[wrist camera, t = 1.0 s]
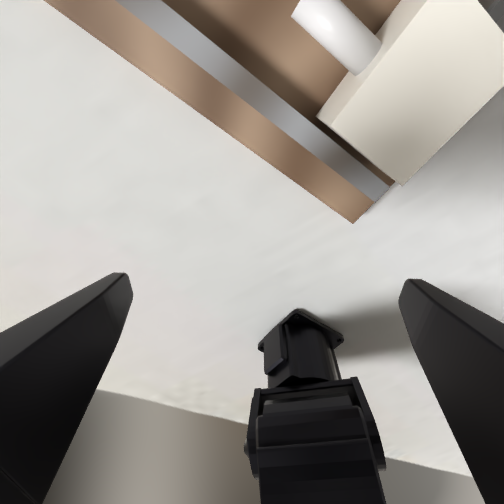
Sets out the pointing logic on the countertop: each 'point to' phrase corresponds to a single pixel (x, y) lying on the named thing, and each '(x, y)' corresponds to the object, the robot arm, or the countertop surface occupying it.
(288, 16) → the gauge base
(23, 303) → the countertop surface
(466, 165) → the countertop surface
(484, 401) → the robot arm
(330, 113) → the carriage
